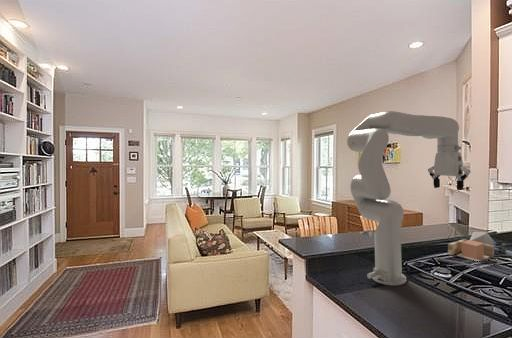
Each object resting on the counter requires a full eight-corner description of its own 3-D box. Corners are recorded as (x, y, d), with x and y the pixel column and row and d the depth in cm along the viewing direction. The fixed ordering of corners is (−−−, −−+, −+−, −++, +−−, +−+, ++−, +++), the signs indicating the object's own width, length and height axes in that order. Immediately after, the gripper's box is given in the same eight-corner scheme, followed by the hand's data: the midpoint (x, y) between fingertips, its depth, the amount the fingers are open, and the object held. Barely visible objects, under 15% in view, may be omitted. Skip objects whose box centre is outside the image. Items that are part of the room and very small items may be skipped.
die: (490, 248, 142) (475, 230, 146) (502, 245, 134) (486, 225, 138) (476, 256, 141) (461, 237, 145) (487, 253, 133) (471, 233, 137)
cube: (484, 256, 130) (484, 243, 130) (476, 259, 127) (476, 245, 127) (469, 252, 135) (469, 239, 135) (461, 255, 133) (461, 242, 132)
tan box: (477, 263, 124) (477, 251, 124) (448, 254, 135) (447, 243, 135) (494, 256, 130) (494, 245, 130) (464, 248, 141) (464, 238, 141)
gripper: (474, 148, 119) (475, 189, 120) (433, 149, 135) (433, 186, 136) (464, 149, 116) (464, 191, 117) (422, 150, 131) (423, 187, 132)
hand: (448, 188), depth 126 cm, fingers open, 9 cm apart
